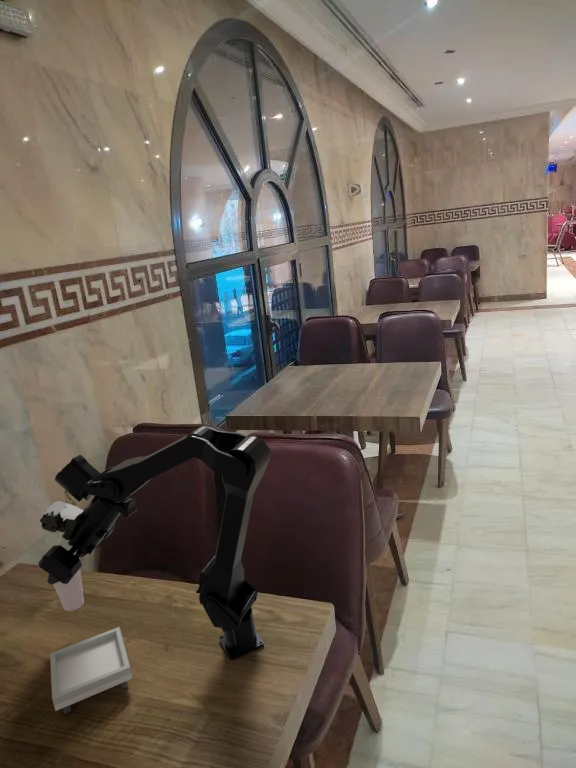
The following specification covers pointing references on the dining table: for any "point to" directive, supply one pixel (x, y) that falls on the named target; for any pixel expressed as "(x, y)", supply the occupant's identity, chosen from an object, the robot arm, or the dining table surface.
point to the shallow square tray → (88, 668)
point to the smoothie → (70, 591)
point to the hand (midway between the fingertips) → (59, 572)
